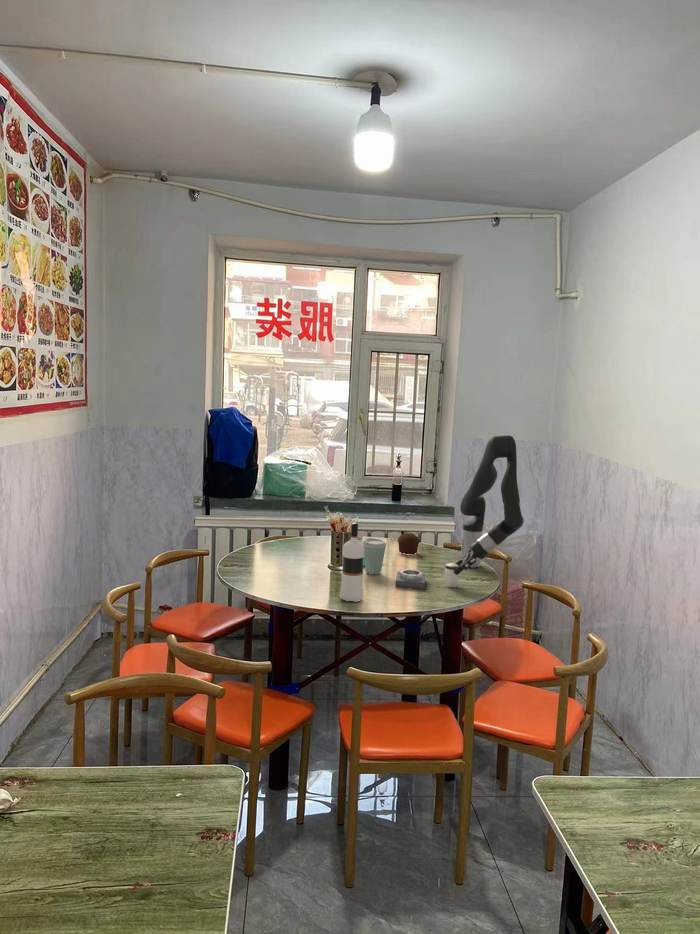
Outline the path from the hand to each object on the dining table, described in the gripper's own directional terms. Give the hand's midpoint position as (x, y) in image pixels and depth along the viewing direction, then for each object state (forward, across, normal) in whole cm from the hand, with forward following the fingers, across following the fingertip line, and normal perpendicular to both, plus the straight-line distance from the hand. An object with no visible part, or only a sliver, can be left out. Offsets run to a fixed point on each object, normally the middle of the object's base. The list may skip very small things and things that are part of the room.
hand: (454, 570), depth 287 cm
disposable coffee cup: (+30, -10, -20) cm, 37 cm away
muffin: (+20, -52, -10) cm, 57 cm away
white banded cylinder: (+6, 0, +4) cm, 7 cm away
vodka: (+33, +29, -24) cm, 50 cm away
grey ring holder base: (+18, +2, -8) cm, 19 cm away
